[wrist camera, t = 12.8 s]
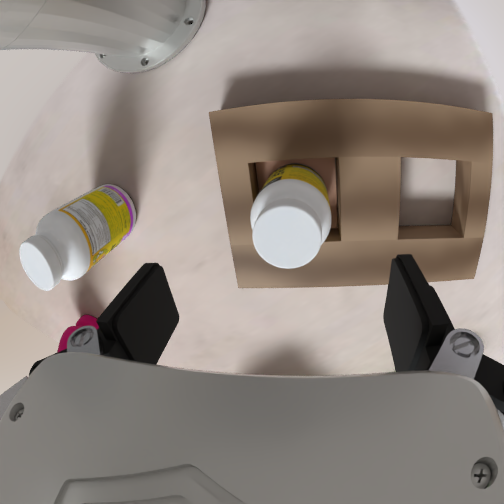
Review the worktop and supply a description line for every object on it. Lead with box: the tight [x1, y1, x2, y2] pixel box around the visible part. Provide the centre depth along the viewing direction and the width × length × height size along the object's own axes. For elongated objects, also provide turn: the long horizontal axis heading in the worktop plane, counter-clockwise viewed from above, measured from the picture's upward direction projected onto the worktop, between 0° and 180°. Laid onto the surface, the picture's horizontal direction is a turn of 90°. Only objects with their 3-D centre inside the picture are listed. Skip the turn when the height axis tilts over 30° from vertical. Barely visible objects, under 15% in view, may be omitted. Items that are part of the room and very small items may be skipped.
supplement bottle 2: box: [250, 163, 331, 269], centre depth 20 cm, size 5×5×10 cm
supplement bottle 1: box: [19, 184, 136, 291], centre depth 24 cm, size 7×7×13 cm
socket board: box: [209, 99, 493, 288], centre depth 22 cm, size 16×24×3 cm, turn 98°
